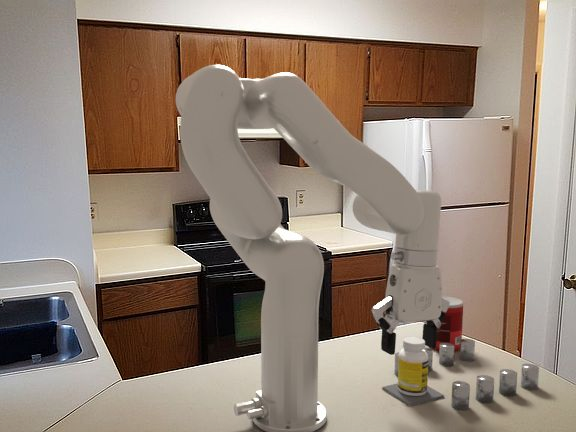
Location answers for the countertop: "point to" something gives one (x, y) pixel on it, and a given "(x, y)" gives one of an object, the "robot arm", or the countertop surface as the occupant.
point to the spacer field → (479, 376)
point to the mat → (413, 400)
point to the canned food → (451, 324)
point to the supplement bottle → (413, 367)
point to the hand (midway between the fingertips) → (408, 349)
